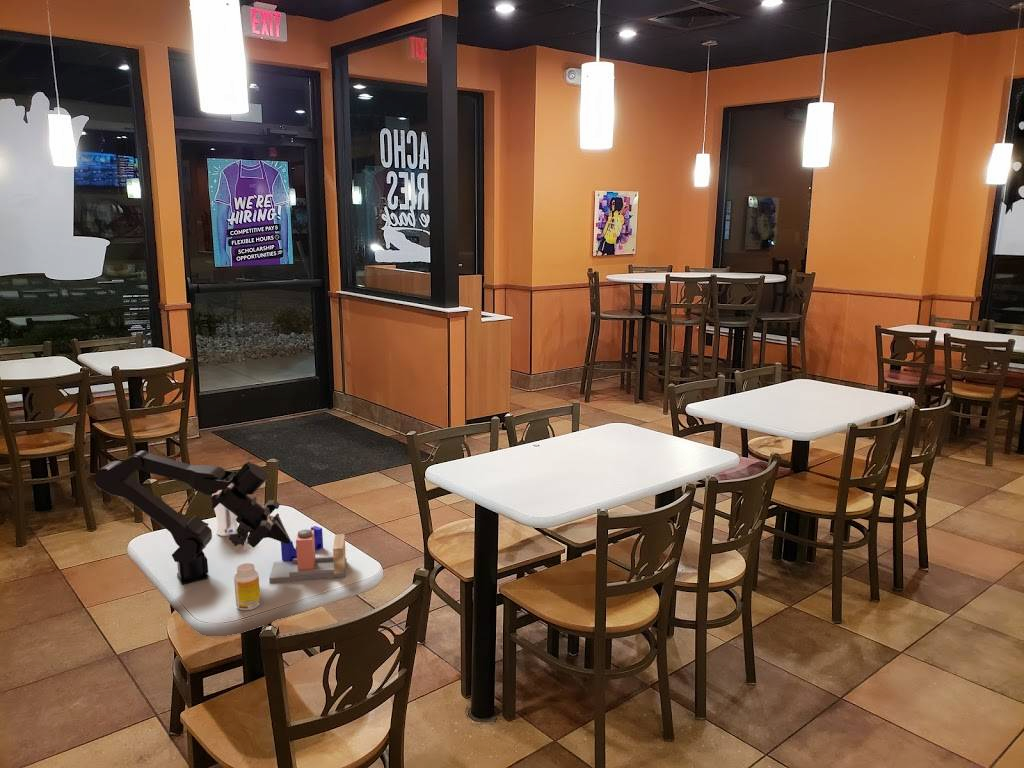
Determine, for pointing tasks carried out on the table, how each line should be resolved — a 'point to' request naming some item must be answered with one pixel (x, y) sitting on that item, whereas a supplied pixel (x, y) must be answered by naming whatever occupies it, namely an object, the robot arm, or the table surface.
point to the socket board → (291, 573)
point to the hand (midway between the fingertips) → (289, 542)
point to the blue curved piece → (291, 552)
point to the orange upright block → (305, 550)
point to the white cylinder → (225, 519)
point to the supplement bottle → (247, 587)
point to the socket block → (339, 553)
